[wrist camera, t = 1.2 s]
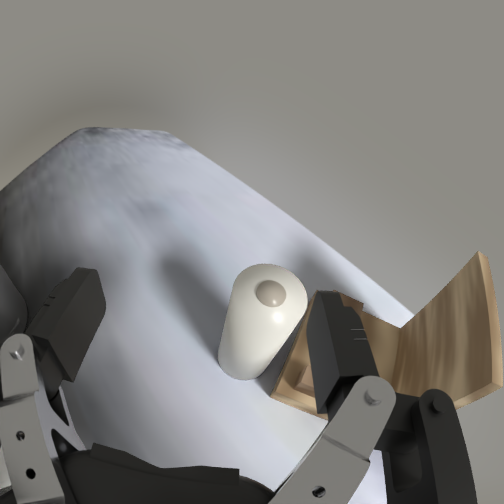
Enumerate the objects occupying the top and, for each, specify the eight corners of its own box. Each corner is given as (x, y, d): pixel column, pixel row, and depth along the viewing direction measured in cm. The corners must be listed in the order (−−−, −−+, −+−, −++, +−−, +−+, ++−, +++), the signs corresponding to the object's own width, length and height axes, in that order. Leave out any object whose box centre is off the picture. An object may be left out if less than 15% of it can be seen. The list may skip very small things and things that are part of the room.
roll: (208, 365, 30) (218, 304, 20) (231, 325, 33) (252, 251, 23) (255, 388, 29) (293, 340, 19) (275, 347, 32) (317, 281, 23)
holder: (269, 396, 28) (346, 319, 15) (310, 300, 38) (374, 191, 24) (378, 436, 26) (502, 386, 13) (398, 340, 35) (487, 257, 22)
